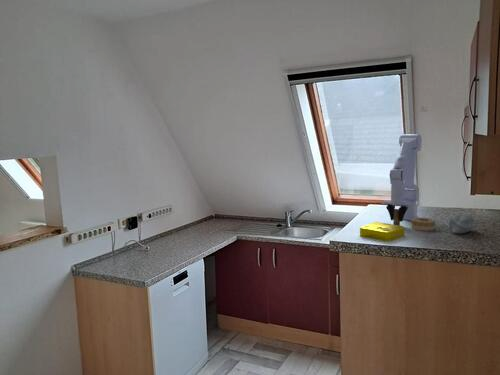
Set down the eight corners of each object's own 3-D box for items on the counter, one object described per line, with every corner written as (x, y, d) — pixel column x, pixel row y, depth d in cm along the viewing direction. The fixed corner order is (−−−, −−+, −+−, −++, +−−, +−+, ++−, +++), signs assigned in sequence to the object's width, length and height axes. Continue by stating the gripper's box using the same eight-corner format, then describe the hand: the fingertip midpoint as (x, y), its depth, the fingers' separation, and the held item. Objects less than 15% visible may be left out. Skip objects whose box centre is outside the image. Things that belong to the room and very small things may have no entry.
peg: (394, 224, 204) (395, 208, 203) (400, 225, 202) (401, 209, 201) (392, 225, 202) (392, 209, 201) (398, 226, 200) (398, 210, 199)
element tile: (406, 235, 184) (406, 225, 183) (388, 242, 174) (389, 231, 173) (375, 230, 195) (376, 220, 194) (358, 236, 185) (358, 226, 184)
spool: (454, 220, 196) (463, 204, 190) (473, 231, 191) (483, 215, 184) (440, 231, 188) (448, 215, 182) (459, 243, 183) (469, 227, 177)
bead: (416, 224, 202) (416, 216, 202) (437, 227, 196) (437, 219, 195) (408, 228, 195) (408, 220, 195) (429, 231, 188) (430, 223, 188)
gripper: (379, 193, 202) (379, 220, 204) (408, 195, 192) (408, 224, 194) (385, 191, 207) (385, 217, 209) (414, 193, 197) (414, 221, 199)
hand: (396, 220), depth 202 cm, fingers open, 4 cm apart
